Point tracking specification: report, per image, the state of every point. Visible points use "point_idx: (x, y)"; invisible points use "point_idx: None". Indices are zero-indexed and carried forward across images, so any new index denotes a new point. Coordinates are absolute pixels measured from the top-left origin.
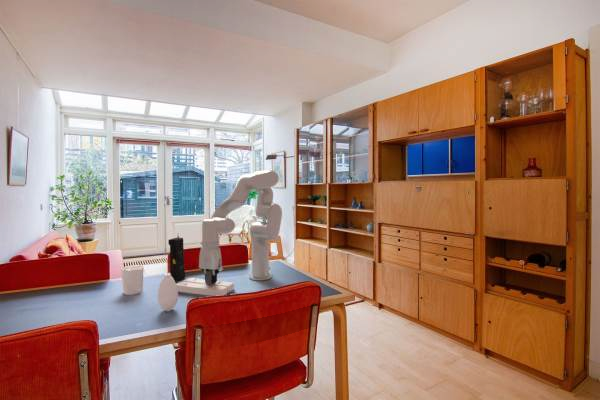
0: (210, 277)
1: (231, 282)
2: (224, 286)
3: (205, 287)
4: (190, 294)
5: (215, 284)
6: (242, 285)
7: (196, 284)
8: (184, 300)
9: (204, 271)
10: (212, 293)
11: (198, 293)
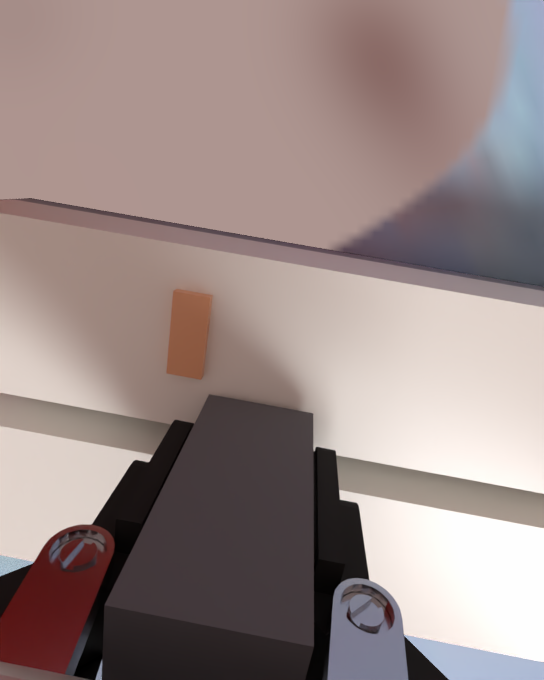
0: (185, 482)
1: (12, 555)
2: (35, 424)
3: (274, 313)
4: (508, 281)
5: None
6: None
7: (495, 436)
8: (520, 50)
9: (380, 662)
10: (132, 224)
11: (379, 263)
